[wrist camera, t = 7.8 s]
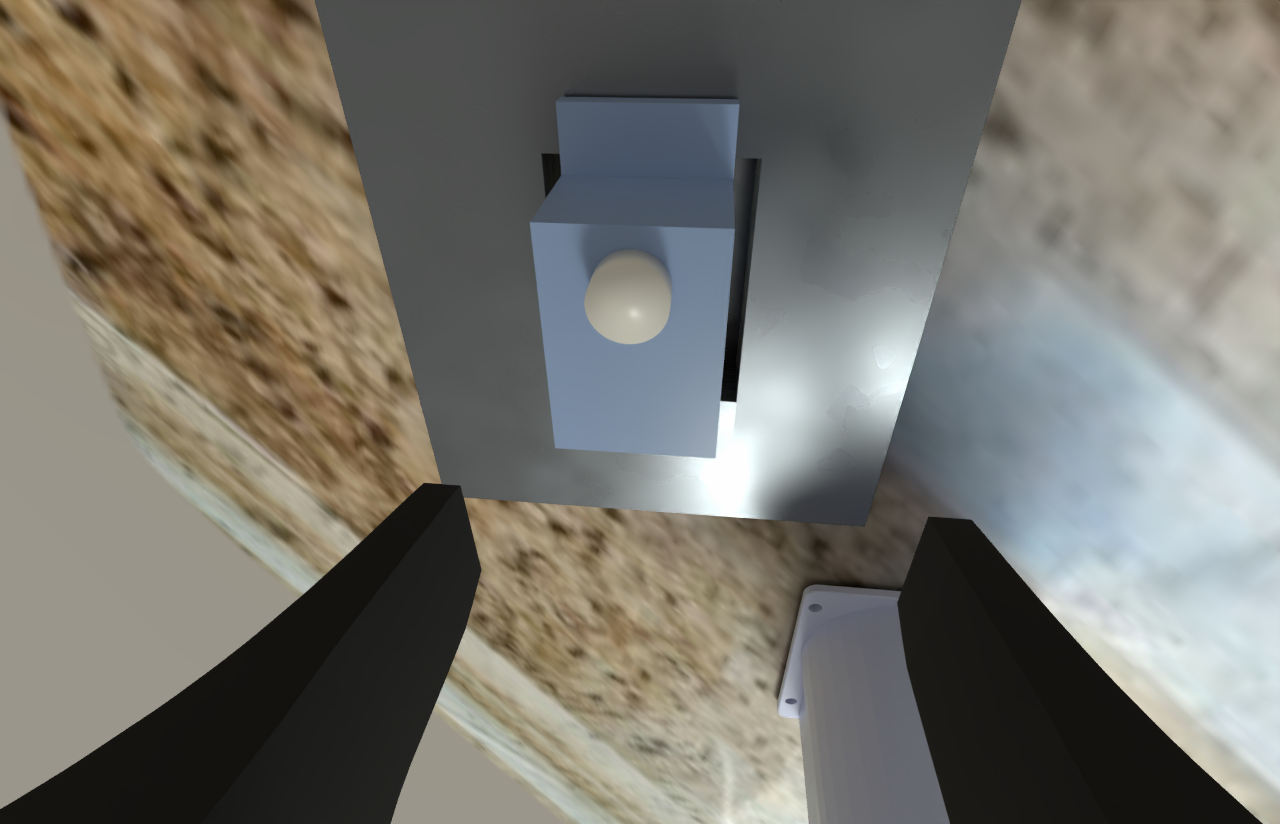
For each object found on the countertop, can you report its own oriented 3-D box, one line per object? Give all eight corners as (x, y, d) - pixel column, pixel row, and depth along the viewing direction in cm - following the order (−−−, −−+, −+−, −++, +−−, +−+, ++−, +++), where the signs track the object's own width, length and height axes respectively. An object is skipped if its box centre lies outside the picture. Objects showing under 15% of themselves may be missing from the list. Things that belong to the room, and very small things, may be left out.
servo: (713, 389, 20) (710, 537, 15) (595, 383, 21) (554, 525, 16) (737, 81, 15) (743, 154, 10) (577, 79, 15) (507, 149, 10)
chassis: (855, 487, 22) (864, 526, 21) (462, 461, 23) (445, 496, 22) (1017, -110, 12) (1055, -115, 11) (332, -102, 14) (286, -106, 12)
